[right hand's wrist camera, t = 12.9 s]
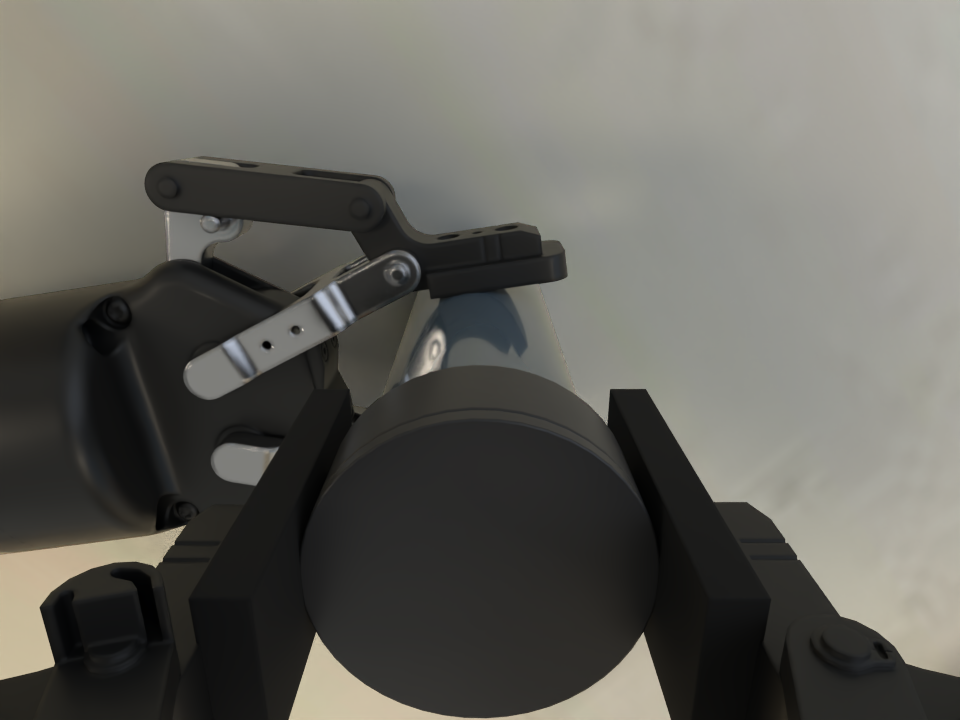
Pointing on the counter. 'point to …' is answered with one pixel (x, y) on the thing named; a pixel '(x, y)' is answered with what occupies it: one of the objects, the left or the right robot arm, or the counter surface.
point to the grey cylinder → (480, 335)
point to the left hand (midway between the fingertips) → (569, 348)
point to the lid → (479, 546)
